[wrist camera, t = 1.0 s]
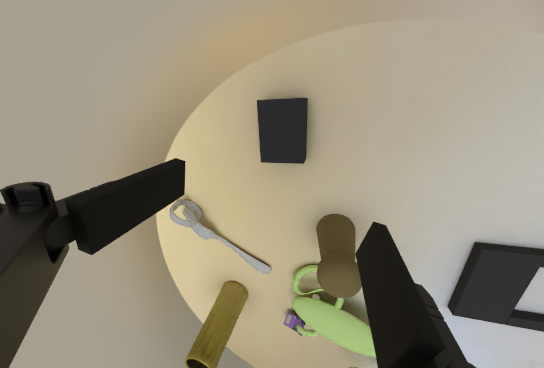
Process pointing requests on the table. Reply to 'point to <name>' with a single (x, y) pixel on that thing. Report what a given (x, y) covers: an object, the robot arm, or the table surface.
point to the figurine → (328, 320)
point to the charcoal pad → (283, 130)
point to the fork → (209, 234)
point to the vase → (217, 327)
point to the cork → (337, 257)
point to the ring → (181, 221)
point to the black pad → (497, 285)
